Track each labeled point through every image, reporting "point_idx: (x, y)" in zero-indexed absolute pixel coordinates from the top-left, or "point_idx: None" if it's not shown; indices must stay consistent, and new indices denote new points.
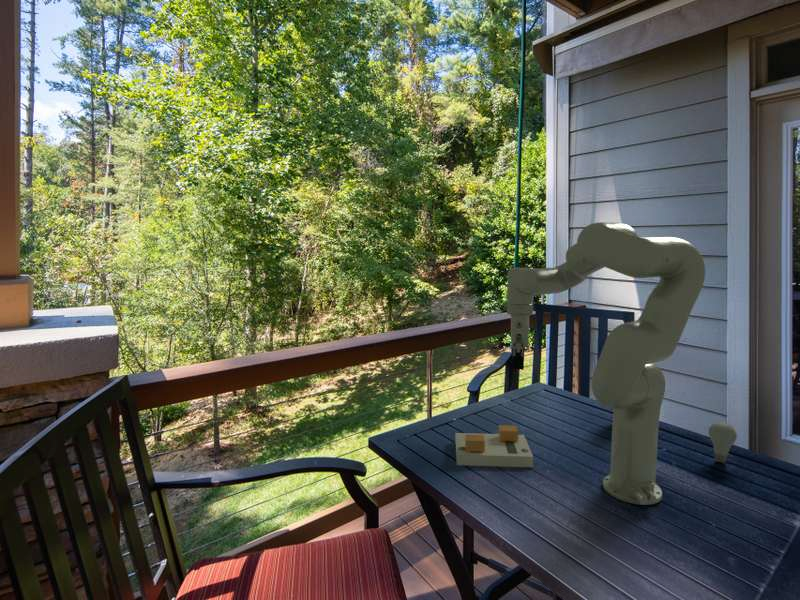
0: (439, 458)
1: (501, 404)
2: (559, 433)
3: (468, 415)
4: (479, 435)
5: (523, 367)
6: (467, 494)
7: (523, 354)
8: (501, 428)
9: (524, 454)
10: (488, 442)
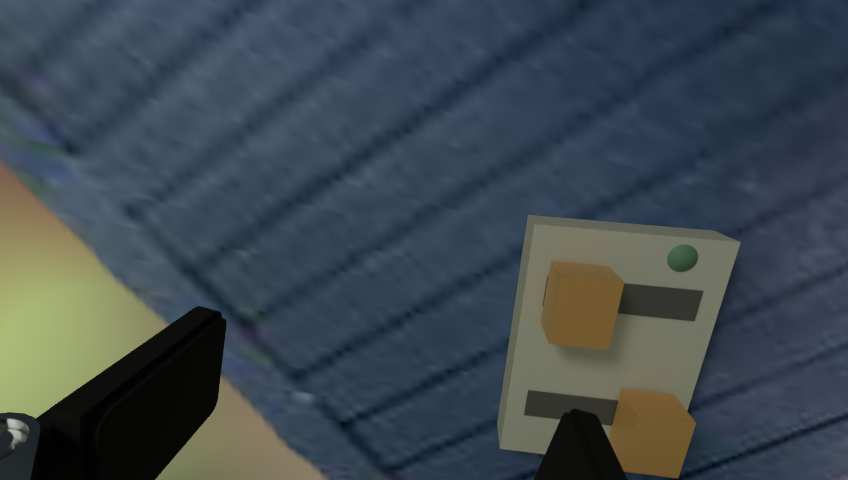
0: None
1: (130, 205)
2: (430, 34)
3: (267, 348)
4: (640, 429)
5: (599, 427)
6: (825, 443)
7: (170, 363)
8: (584, 340)
9: (714, 268)
10: (591, 364)
